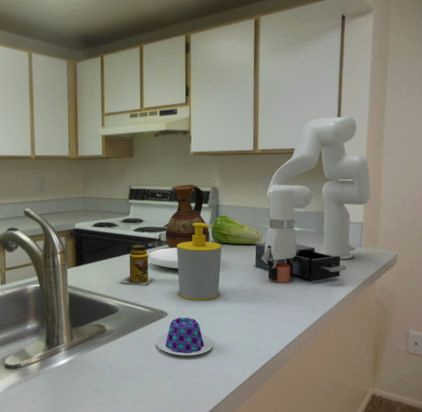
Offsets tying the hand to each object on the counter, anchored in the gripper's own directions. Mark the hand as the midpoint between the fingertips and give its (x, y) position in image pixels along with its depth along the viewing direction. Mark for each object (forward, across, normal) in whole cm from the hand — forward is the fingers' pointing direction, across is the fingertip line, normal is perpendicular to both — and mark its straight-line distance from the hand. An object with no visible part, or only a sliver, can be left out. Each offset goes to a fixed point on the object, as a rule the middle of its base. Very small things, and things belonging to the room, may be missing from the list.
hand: (280, 277), depth 135 cm
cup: (+1, 0, 0) cm, 1 cm away
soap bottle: (+1, +32, 0) cm, 32 cm away
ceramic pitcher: (+1, +1, -58) cm, 59 cm away
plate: (+1, +18, -33) cm, 38 cm away
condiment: (+1, +43, -21) cm, 48 cm away
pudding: (+1, +54, +29) cm, 61 cm away
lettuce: (+1, -28, -60) cm, 66 cm away
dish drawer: (0, -12, +3) cm, 12 cm away
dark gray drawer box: (+1, -12, -11) cm, 16 cm away
